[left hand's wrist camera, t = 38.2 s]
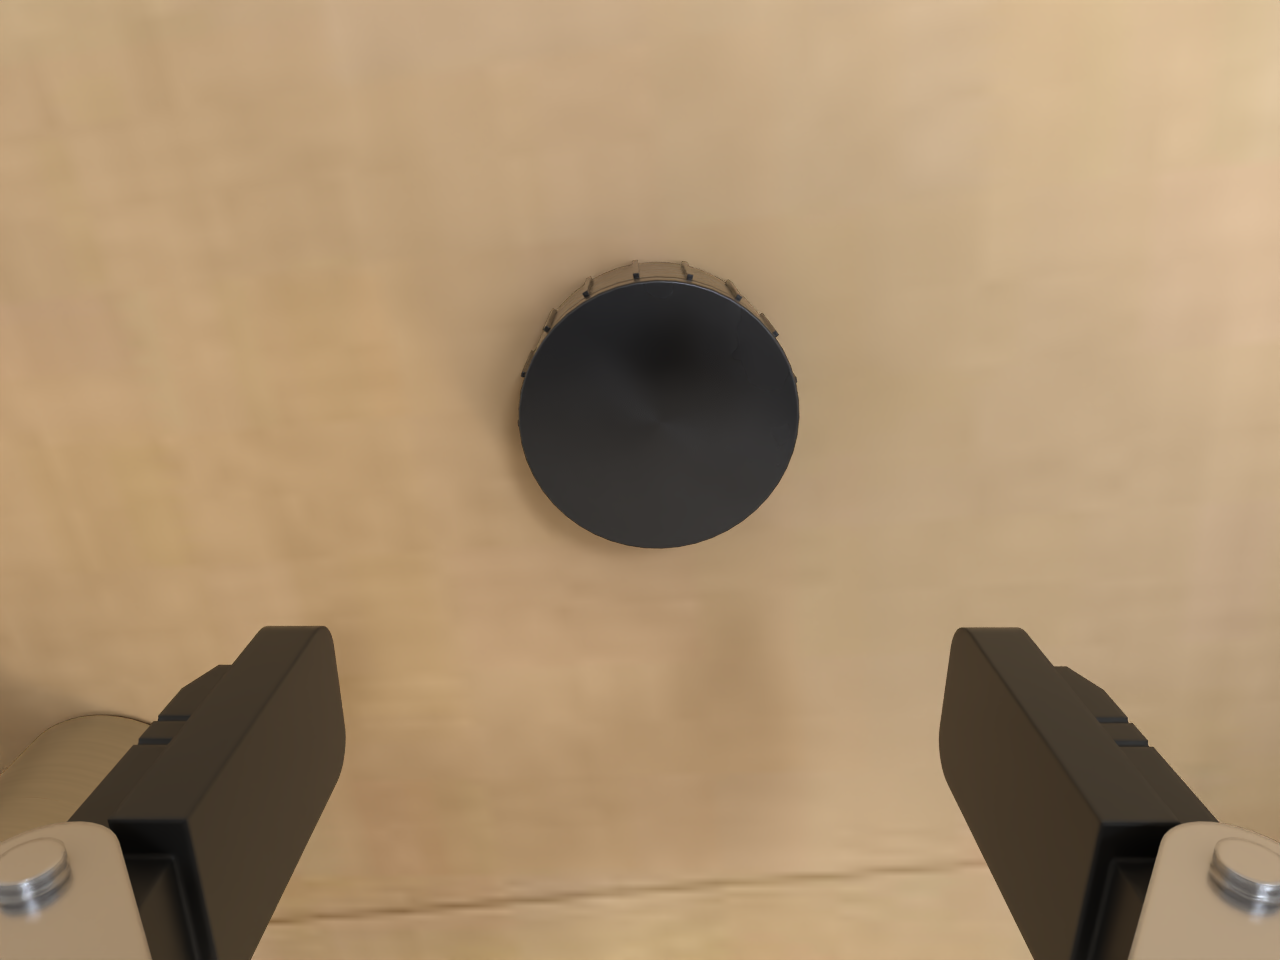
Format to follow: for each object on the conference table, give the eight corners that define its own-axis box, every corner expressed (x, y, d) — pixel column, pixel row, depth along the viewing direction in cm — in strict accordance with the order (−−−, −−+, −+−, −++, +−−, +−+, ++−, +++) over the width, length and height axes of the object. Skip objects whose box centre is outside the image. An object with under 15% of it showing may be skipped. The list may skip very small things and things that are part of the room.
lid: (503, 281, 18) (485, 302, 15) (768, 237, 17) (788, 252, 15) (554, 520, 19) (545, 569, 17) (794, 484, 19) (815, 529, 17)
